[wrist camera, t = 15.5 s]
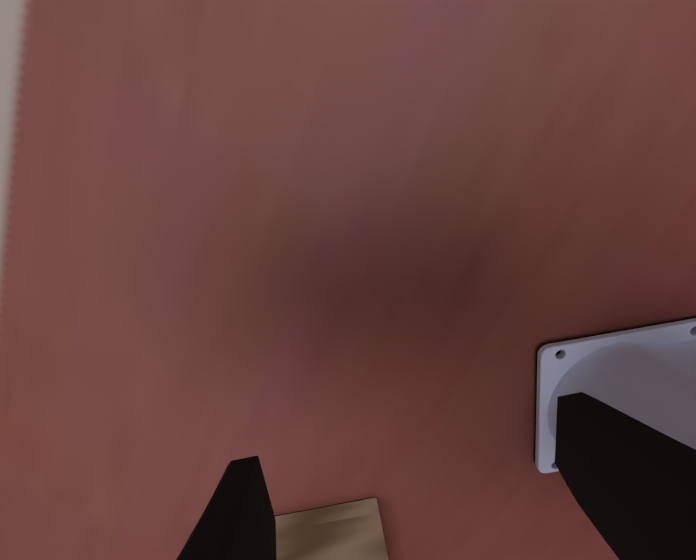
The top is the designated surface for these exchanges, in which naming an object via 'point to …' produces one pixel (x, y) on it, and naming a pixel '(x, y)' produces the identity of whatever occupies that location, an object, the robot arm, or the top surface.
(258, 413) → the top surface
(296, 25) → the top surface
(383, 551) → the socket block
